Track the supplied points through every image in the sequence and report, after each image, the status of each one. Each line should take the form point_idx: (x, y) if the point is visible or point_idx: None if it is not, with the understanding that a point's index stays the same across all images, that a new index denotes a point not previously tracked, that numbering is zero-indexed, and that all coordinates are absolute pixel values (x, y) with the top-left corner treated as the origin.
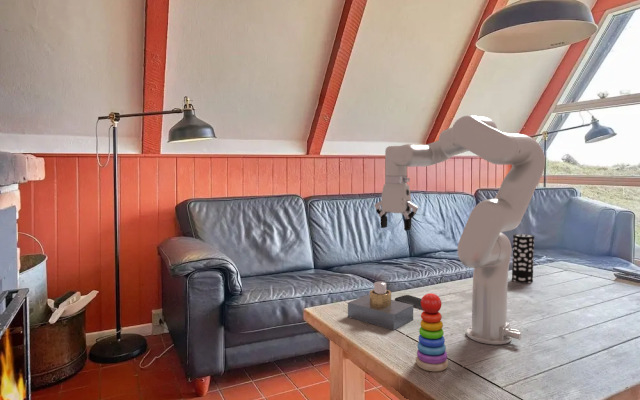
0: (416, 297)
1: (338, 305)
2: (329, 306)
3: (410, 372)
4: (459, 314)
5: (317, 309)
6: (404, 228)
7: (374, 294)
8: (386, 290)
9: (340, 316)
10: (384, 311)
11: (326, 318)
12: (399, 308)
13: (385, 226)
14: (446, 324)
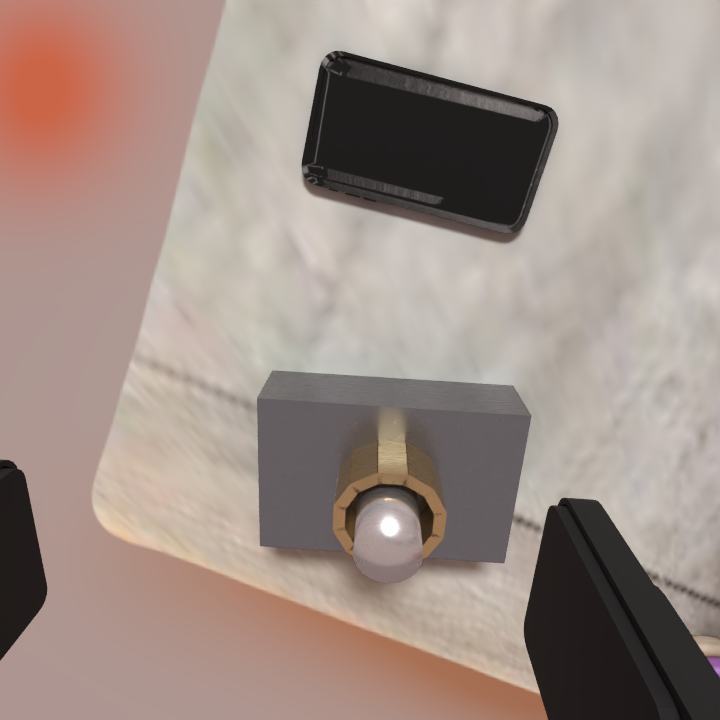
0: (399, 69)
1: (145, 416)
2: (127, 448)
3: None
4: (695, 181)
5: (120, 502)
6: (536, 663)
7: None
8: (400, 483)
9: (246, 514)
10: (454, 554)
11: (221, 555)
12: (493, 492)
13: (21, 526)
14: (661, 352)
